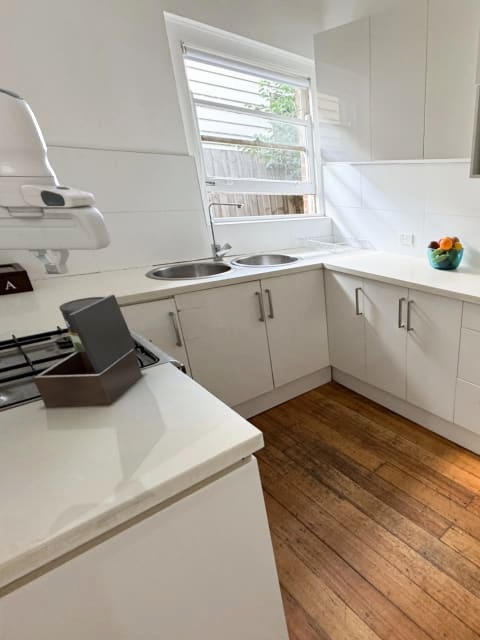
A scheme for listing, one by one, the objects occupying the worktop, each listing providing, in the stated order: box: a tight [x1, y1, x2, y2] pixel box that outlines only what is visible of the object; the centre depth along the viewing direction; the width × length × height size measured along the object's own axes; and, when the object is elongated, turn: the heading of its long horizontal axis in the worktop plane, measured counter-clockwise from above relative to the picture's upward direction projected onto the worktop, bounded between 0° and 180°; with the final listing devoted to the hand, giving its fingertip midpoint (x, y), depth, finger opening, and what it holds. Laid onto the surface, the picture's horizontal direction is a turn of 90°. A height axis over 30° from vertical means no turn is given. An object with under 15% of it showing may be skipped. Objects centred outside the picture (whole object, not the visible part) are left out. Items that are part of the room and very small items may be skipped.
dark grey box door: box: [68, 294, 137, 374], centre depth 77 cm, size 12×13×1 cm
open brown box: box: [32, 348, 143, 409], centre depth 80 cm, size 12×13×7 cm
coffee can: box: [58, 296, 106, 352], centre depth 94 cm, size 10×10×14 cm
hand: (57, 273), depth 71 cm, fingers closed
